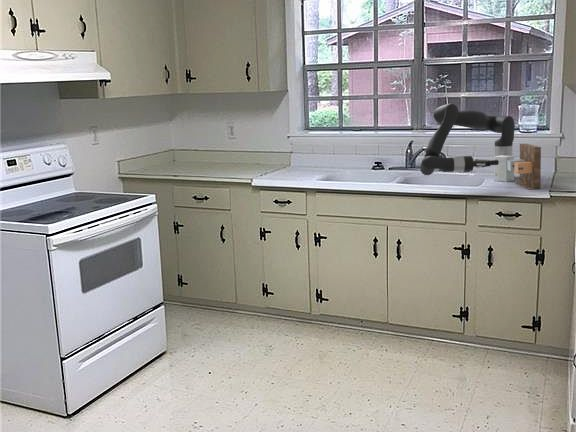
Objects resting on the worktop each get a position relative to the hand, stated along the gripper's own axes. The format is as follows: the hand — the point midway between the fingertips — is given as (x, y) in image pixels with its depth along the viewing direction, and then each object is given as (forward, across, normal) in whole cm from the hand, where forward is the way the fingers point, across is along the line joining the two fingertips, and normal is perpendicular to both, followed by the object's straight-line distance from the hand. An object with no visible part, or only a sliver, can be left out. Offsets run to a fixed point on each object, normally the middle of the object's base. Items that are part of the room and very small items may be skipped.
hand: (498, 162), depth 318 cm
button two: (+13, 0, +6) cm, 14 cm away
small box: (+11, +27, +13) cm, 32 cm away
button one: (+13, +11, +6) cm, 18 cm away
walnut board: (+16, +6, +13) cm, 22 cm away
